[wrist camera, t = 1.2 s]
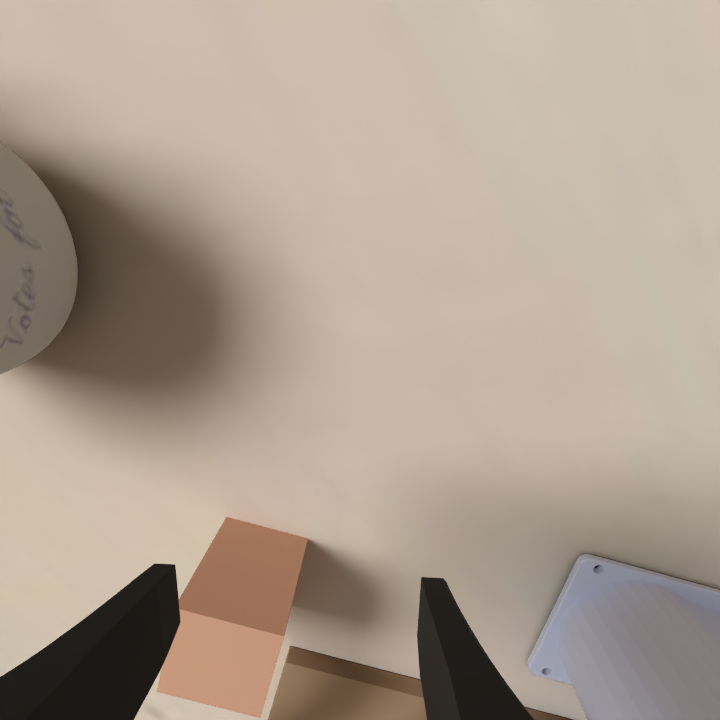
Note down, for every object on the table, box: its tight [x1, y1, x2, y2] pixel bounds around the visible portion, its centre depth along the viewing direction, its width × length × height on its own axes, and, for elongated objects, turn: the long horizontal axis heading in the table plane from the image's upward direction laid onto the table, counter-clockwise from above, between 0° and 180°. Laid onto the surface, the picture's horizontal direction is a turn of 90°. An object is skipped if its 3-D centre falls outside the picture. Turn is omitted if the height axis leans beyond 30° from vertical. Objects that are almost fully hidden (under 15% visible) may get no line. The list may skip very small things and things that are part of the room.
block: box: [157, 517, 308, 718], centre depth 20 cm, size 4×4×6 cm
